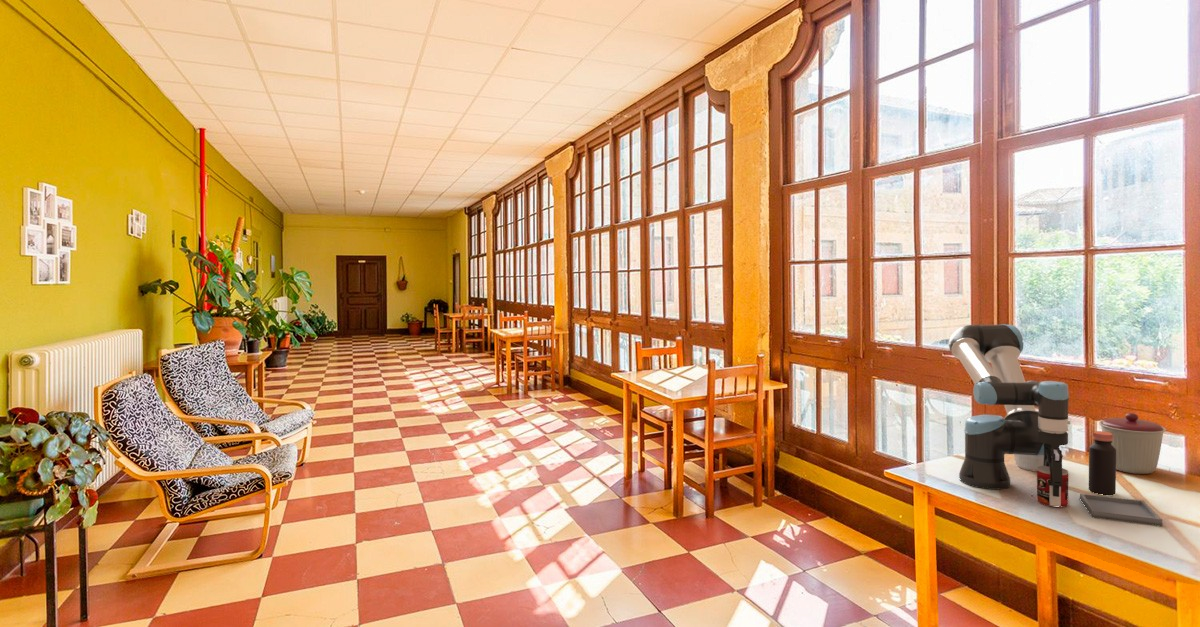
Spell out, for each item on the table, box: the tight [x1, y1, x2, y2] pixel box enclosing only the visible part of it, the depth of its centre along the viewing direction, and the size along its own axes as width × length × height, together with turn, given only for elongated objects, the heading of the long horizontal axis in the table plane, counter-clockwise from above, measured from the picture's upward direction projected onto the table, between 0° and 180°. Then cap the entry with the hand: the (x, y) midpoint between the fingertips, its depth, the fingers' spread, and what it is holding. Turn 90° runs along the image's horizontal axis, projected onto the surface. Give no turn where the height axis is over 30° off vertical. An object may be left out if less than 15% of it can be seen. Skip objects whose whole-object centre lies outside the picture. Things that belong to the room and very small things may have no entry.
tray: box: [1079, 493, 1163, 527], centre depth 178 cm, size 16×16×2 cm
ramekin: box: [1013, 454, 1044, 472], centre depth 220 cm, size 13×13×7 cm
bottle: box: [1088, 430, 1117, 496], centre depth 193 cm, size 7×7×20 cm
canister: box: [1098, 412, 1167, 475], centre depth 214 cm, size 18×18×21 cm
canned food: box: [1036, 466, 1069, 507], centre depth 186 cm, size 8×8×11 cm
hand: (1052, 500), depth 187 cm, fingers closed on canned food, 8 cm apart
